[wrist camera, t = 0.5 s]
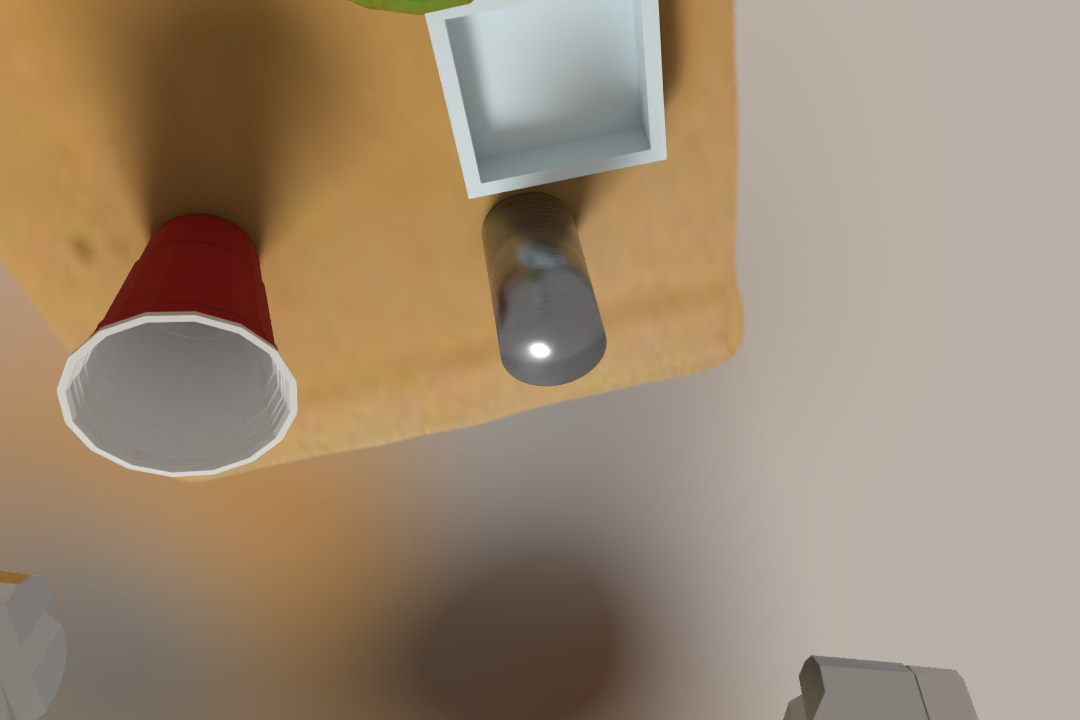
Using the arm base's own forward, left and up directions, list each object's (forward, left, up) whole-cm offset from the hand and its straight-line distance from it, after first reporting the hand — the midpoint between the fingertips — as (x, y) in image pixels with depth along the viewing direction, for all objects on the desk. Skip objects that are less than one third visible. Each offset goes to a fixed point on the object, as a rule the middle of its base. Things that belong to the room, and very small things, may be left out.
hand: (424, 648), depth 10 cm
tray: (+15, +5, -39) cm, 42 cm away
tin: (+25, +3, -39) cm, 47 cm away
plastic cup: (+22, -15, -39) cm, 48 cm away
